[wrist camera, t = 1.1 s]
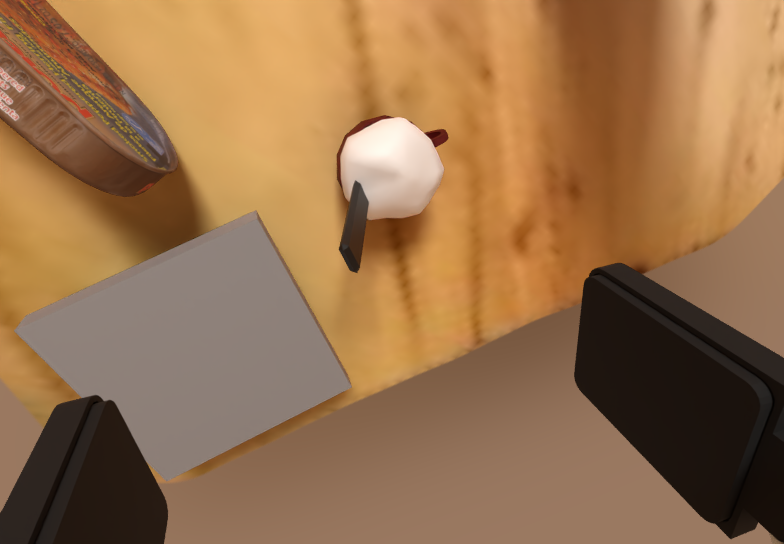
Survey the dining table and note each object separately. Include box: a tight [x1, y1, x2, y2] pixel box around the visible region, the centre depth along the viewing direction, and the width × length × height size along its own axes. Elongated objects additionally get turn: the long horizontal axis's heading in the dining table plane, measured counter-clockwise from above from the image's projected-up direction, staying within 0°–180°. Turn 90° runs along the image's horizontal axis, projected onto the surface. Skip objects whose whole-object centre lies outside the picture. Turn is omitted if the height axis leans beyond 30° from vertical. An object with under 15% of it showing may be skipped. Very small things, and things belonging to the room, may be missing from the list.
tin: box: [0, 0, 178, 197], centre depth 21 cm, size 15×3×8 cm, turn 34°
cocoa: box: [337, 115, 448, 273], centre depth 26 cm, size 10×6×12 cm, turn 91°
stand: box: [14, 210, 352, 481], centre depth 31 cm, size 14×14×5 cm
